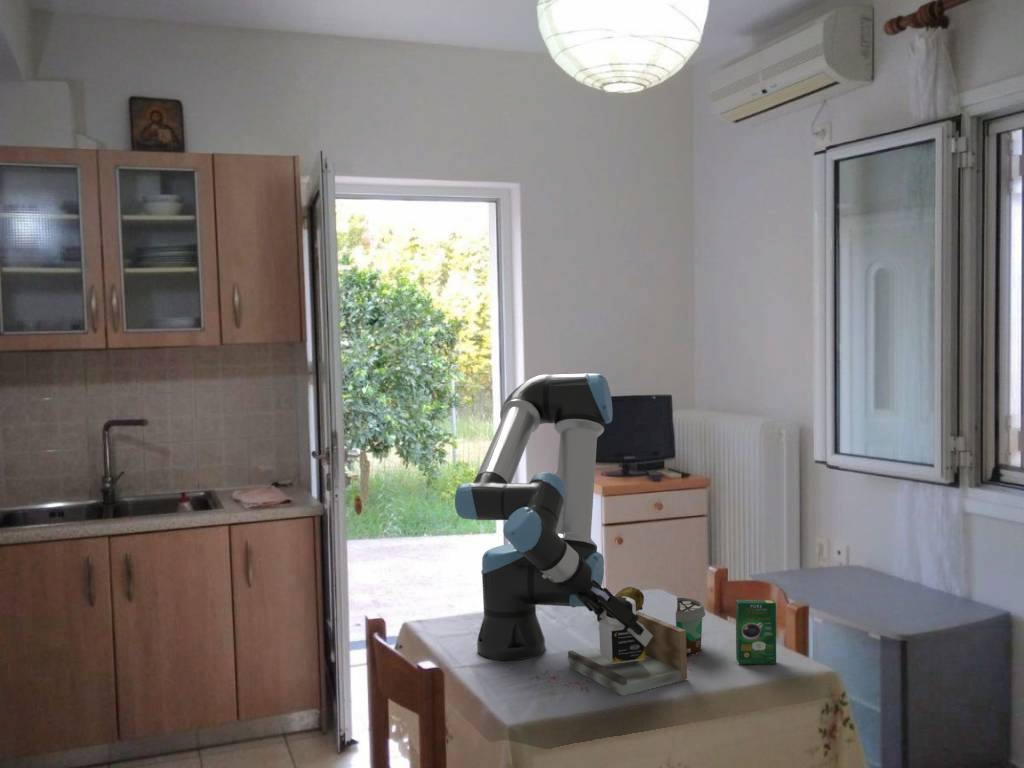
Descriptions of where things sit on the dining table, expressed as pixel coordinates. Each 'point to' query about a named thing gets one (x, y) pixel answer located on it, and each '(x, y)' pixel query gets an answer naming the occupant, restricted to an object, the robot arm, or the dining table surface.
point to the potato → (632, 594)
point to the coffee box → (756, 631)
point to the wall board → (640, 661)
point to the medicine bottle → (619, 638)
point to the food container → (690, 622)
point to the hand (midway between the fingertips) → (635, 635)
